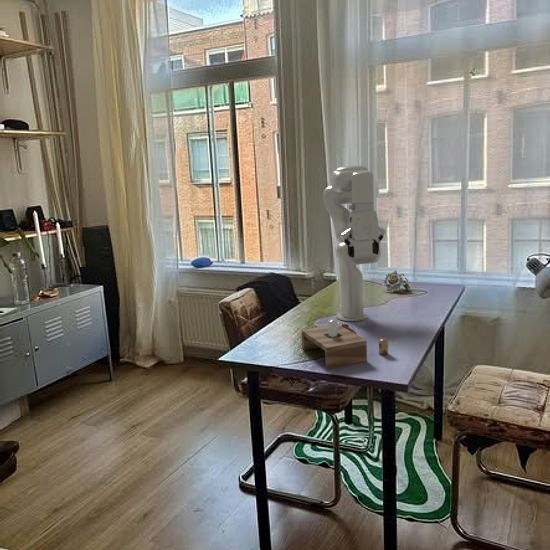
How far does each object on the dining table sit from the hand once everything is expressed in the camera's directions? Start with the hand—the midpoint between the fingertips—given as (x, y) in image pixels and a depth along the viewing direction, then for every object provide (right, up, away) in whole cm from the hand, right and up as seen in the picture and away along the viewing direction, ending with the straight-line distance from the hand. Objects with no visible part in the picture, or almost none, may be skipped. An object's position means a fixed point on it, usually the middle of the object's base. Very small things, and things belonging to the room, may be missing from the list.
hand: (363, 255), depth 189 cm
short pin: (+4, -33, -13) cm, 36 cm away
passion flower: (+27, -15, +67) cm, 74 cm away
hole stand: (-12, -34, -12) cm, 38 cm away
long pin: (-12, -34, -12) cm, 38 cm away
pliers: (-5, -29, +11) cm, 32 cm away
